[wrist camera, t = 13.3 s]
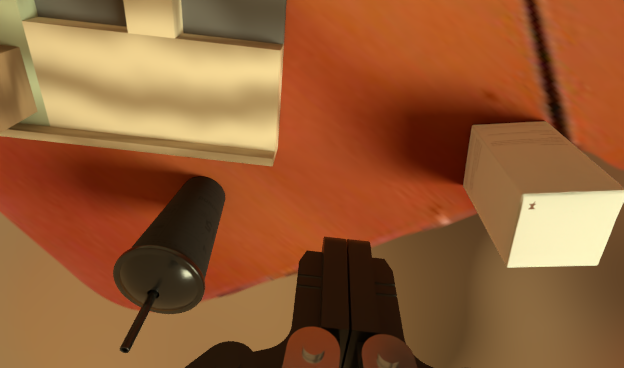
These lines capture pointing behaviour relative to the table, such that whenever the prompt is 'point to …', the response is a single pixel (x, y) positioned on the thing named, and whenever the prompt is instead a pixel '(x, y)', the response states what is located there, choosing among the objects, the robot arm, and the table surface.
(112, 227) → the table surface
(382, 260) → the robot arm
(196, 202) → the drinking cup
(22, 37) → the board
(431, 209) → the table surface
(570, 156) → the supplement box
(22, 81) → the walnut block
